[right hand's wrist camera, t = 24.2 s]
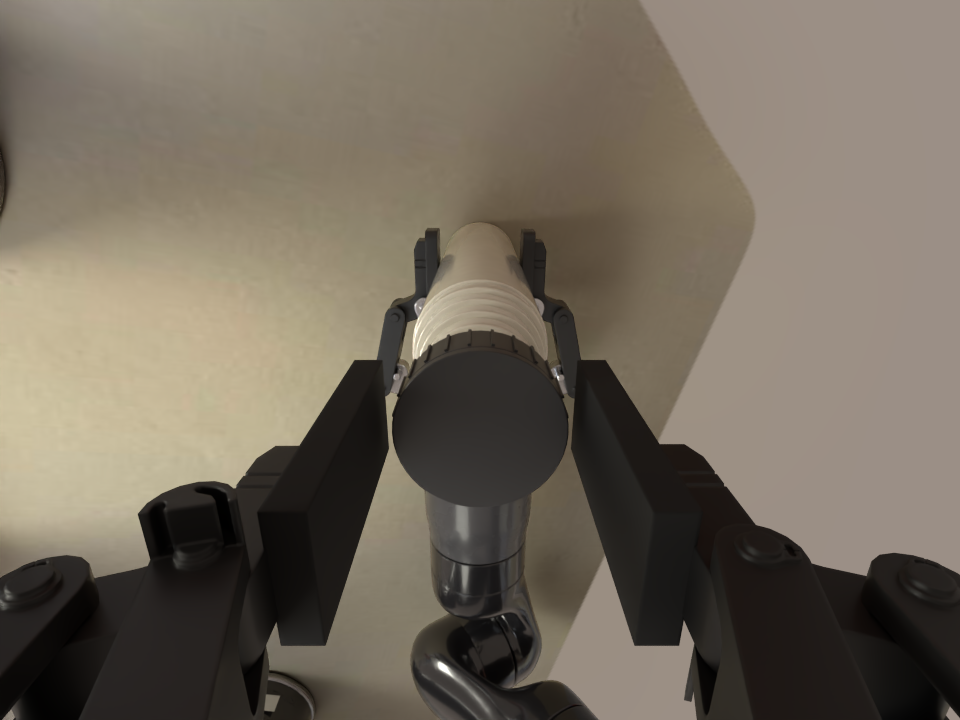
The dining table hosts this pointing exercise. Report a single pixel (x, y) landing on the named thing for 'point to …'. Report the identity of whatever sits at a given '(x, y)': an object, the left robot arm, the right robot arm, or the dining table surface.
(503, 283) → the bottle
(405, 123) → the dining table surface
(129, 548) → the dining table surface
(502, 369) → the cap
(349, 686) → the dining table surface
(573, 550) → the dining table surface
